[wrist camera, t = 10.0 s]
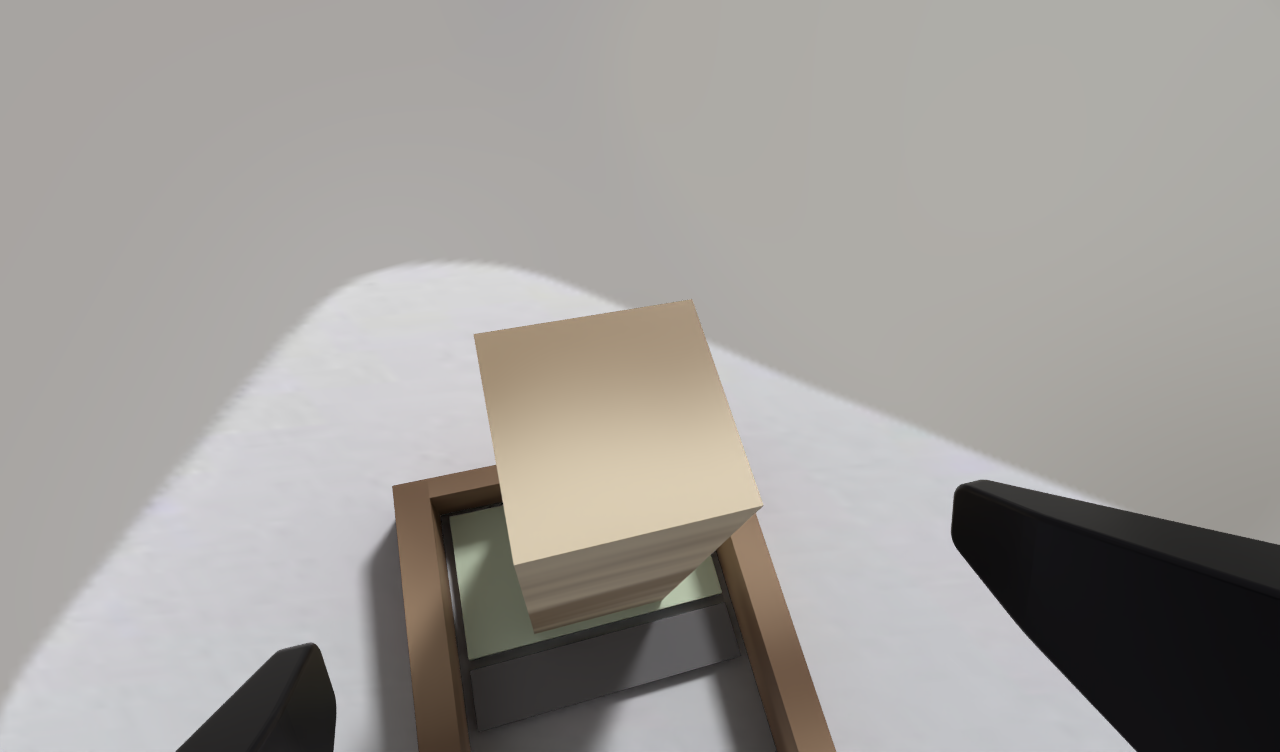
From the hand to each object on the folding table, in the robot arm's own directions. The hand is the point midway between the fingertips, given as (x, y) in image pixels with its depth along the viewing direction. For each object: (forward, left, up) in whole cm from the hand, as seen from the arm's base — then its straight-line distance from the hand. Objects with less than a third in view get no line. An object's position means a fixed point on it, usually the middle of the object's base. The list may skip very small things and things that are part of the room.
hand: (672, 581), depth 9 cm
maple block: (+3, 0, -12) cm, 12 cm away
